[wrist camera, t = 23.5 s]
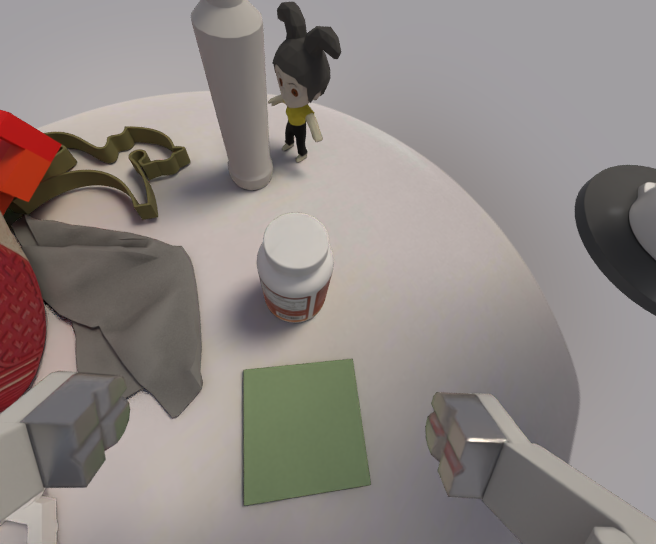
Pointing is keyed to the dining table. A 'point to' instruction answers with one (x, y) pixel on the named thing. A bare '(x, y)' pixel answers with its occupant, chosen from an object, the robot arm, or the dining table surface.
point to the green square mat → (302, 431)
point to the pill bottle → (295, 266)
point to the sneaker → (18, 320)
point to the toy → (302, 73)
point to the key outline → (38, 519)
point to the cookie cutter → (63, 161)
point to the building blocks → (22, 158)
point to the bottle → (237, 84)
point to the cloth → (122, 304)
